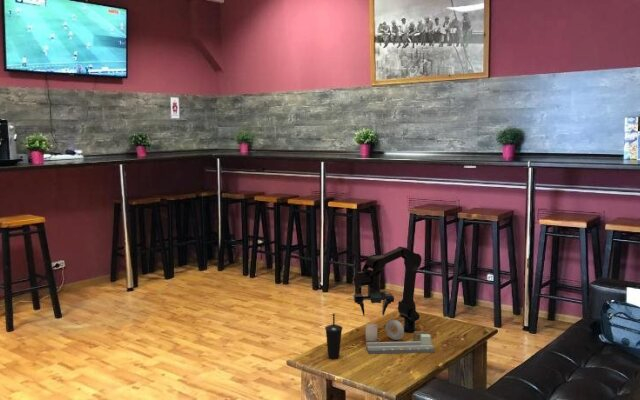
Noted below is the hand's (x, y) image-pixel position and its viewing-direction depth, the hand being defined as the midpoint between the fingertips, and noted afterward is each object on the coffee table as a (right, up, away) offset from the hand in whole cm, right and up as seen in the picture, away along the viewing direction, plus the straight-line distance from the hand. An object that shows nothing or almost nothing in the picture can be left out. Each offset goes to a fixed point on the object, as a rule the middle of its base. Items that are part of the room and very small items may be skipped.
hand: (373, 315), depth 285 cm
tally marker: (+23, -12, -11) cm, 28 cm away
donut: (+10, -12, +2) cm, 16 cm away
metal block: (+22, -12, +1) cm, 26 cm away
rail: (+11, -14, -11) cm, 21 cm away
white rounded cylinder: (-1, -12, +2) cm, 12 cm away
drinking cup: (-19, -15, -20) cm, 32 cm away
